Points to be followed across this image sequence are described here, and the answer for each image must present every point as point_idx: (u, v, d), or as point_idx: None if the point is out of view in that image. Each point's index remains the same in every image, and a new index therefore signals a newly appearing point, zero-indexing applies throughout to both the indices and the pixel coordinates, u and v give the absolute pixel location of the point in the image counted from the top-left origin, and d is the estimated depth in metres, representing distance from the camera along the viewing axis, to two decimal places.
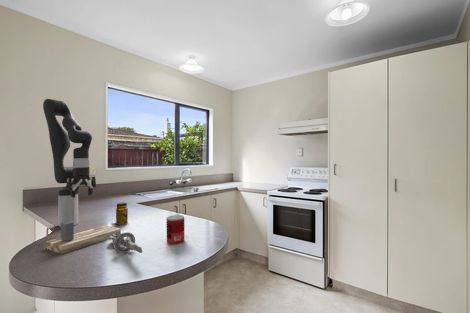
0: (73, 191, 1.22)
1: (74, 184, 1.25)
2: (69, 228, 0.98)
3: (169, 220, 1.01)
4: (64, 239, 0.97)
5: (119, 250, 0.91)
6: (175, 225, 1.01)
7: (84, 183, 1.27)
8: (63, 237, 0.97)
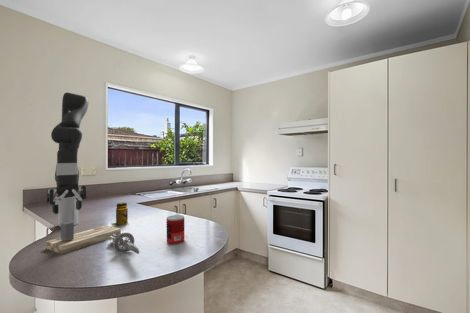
0: (56, 206, 0.94)
1: (57, 196, 0.97)
2: (69, 228, 0.98)
3: (169, 220, 1.01)
4: (64, 239, 0.97)
5: (118, 250, 0.91)
6: (175, 225, 1.01)
7: (71, 195, 0.99)
8: (63, 237, 0.97)
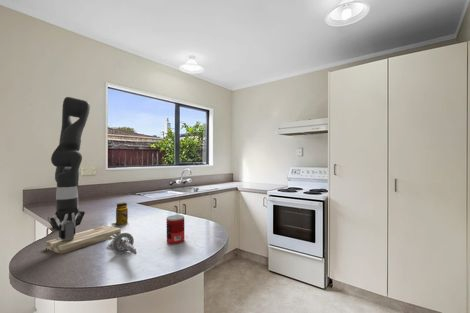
0: (62, 231, 0.96)
1: (60, 221, 0.98)
2: (69, 228, 0.98)
3: (169, 220, 1.01)
4: (64, 239, 0.97)
5: (117, 250, 0.90)
6: (175, 225, 1.01)
7: (68, 218, 0.98)
8: None
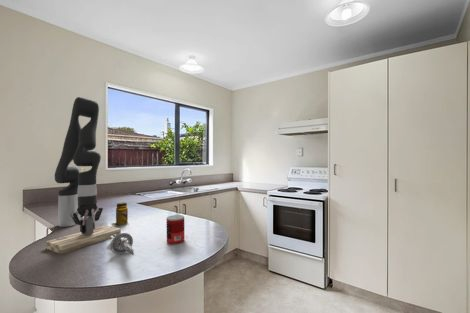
0: (83, 226, 1.04)
1: (81, 216, 1.05)
2: (89, 223, 1.05)
3: (169, 220, 1.01)
4: (85, 233, 1.04)
5: (116, 251, 0.90)
6: (175, 225, 1.01)
7: (88, 213, 1.06)
8: None
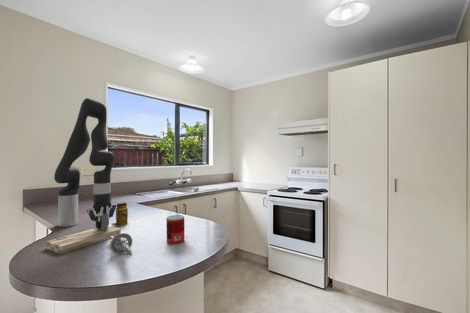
0: (98, 222, 1.10)
1: (96, 213, 1.11)
2: (104, 219, 1.11)
3: (169, 220, 1.01)
4: (100, 229, 1.10)
5: (115, 251, 0.90)
6: (175, 225, 1.01)
7: (103, 210, 1.12)
8: None
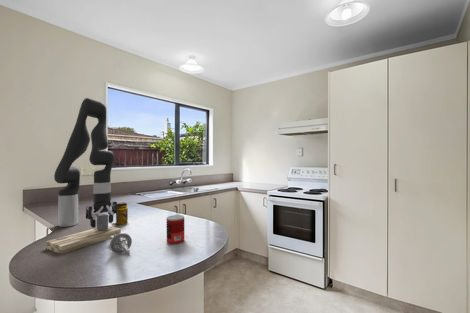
0: (93, 220, 1.08)
1: (94, 212, 1.10)
2: (104, 219, 1.11)
3: (169, 220, 1.01)
4: (100, 229, 1.10)
5: (114, 251, 0.90)
6: (175, 225, 1.01)
7: (105, 210, 1.13)
8: (99, 227, 1.11)
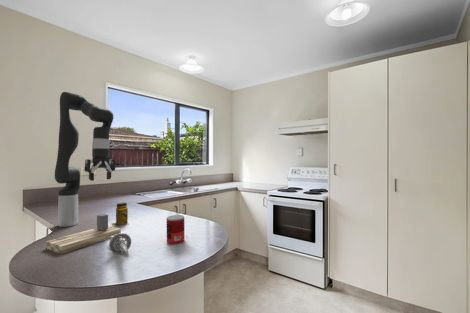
0: (92, 173, 1.12)
1: (93, 166, 1.15)
2: (104, 219, 1.11)
3: (169, 220, 1.01)
4: (100, 229, 1.10)
5: (114, 251, 0.90)
6: (175, 225, 1.01)
7: (103, 166, 1.17)
8: (99, 227, 1.11)
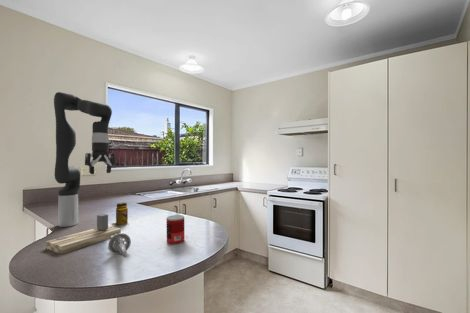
0: (92, 167, 1.14)
1: None
2: (104, 219, 1.11)
3: (169, 220, 1.01)
4: (100, 229, 1.10)
5: (113, 251, 0.90)
6: (175, 225, 1.01)
7: (103, 160, 1.19)
8: (99, 227, 1.11)
